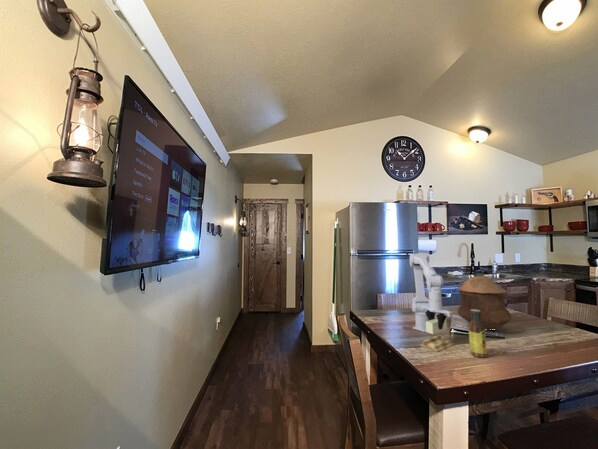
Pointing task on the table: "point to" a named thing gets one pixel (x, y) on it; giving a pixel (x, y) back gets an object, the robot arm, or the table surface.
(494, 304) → the pottery vessel
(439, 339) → the tan flat piece
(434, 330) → the cream rectangular block
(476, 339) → the sauce bottle
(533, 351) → the table surface
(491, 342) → the table surface
